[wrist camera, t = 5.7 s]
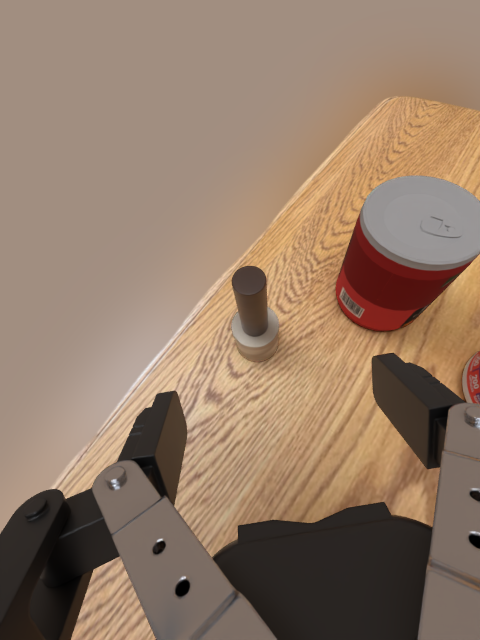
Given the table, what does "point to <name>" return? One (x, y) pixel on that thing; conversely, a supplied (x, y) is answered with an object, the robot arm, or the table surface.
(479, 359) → the pill bottle
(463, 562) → the robot arm
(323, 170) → the table surface
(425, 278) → the red supplement tub
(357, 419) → the table surface
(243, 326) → the brown dowel with collar
